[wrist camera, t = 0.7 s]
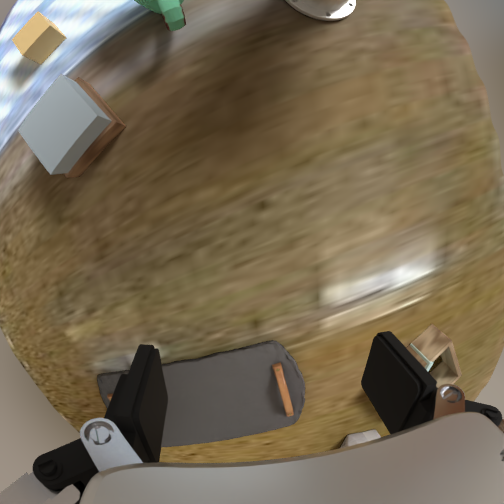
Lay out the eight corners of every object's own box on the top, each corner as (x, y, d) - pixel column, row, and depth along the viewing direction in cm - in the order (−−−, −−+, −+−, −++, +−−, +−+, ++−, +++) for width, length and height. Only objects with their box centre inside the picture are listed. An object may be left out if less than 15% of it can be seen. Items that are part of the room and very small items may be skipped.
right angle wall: (417, 387, 54) (432, 405, 47) (383, 388, 52) (398, 409, 45) (442, 346, 52) (461, 363, 44) (410, 343, 49) (430, 363, 42)
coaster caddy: (432, 323, 49) (451, 340, 42) (446, 359, 53) (461, 375, 47) (374, 374, 51) (389, 395, 44) (397, 402, 55) (409, 420, 48)
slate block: (76, 82, 27) (60, 74, 23) (111, 121, 29) (97, 115, 25) (36, 132, 28) (17, 130, 24) (67, 173, 30) (50, 174, 26)
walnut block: (91, 84, 31) (78, 77, 27) (127, 126, 34) (116, 122, 30) (48, 133, 32) (32, 131, 28) (80, 176, 35) (66, 178, 31)
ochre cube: (54, 23, 26) (38, 11, 20) (66, 38, 27) (50, 25, 21) (29, 49, 26) (11, 39, 20) (41, 64, 28) (22, 55, 22)
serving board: (140, 439, 51) (136, 459, 45) (87, 366, 44) (76, 387, 38) (308, 410, 52) (316, 431, 46) (290, 324, 45) (300, 345, 39)
